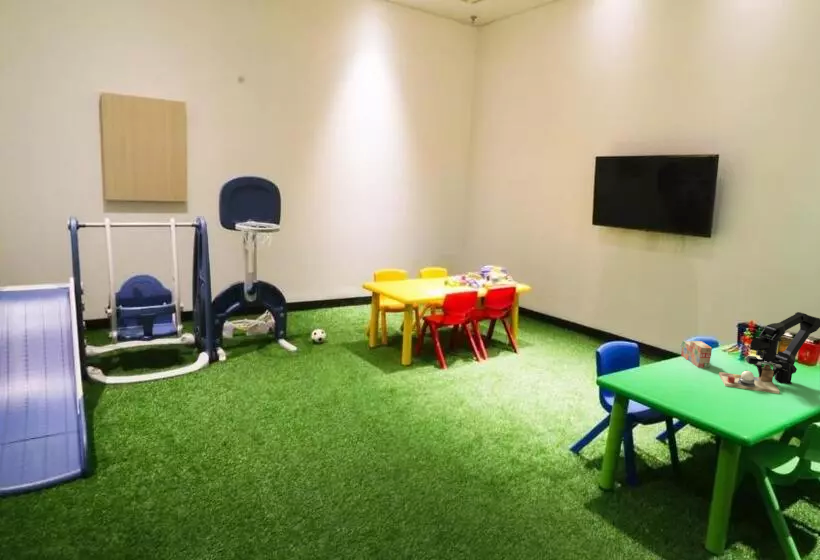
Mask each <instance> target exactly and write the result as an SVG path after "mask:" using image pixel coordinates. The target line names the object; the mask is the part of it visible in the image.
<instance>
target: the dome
mask: <svg viewBox="0 0 820 560" xmlns="http://www.w3.org/2000/svg"><path fill="white" fill-rule="evenodd" d="M740 375H741V377H740V378H739V381H741V382H743V383H747V384H754V382H755V381H754V380H753V379H754V377H755V375H754V374H753V372H752V371H750V370H745V371H742V372H741V374H740Z"/></svg>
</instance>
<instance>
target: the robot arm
mask: <svg viewBox="0 0 820 560" xmlns="http://www.w3.org/2000/svg"><path fill="white" fill-rule="evenodd" d="M798 325H799V330H798V331H797V332H796V334H795V336H794V337H793V338H792V340H791V341H790V343H789V344H788V345H787V347H786V349H785V350H784V351H780V350H779V351H778V346H779V342H782V341H783V340H782V338H781V337H782V336H784V335H785V333H786V331H788V330H790V329H791V328H793V327H795V326H798ZM819 329H820V317H816V316H813V315H808V314H807V313H804V312H801V311H800V312H798V311H797V312H795V313H794V314H793V315H791V316H789V317H787V318H785V319H783V320H781V321H780V322H775V323H770V324H769V323H768V325H766V326H764V328H763V330H762V331H761V333H760V334H759V335H758V336H755V339H753V340H752V341H751V342H750V346H751V348H752V350H753V351H755V356H753V355H747V357H746V362H747V363H748V364H751V365H754V366H755V367H756V369H757V372H758V377H761V372H762V367H763V365H762V364H765V365H772V370H773V371H774V374H773V378H774V380H775V381H776V382H777V383H781V384H789V385H792V377H793V375H794V374H795V373H797V370H798V369H797V367H796V366H795V362H796V355H797V353H798V352H799V350H800V349H801V348H802V347H803V345H804V344H805V342H806V341H807V339H808V338H809V337H810V335H811V334H813V333H815V332H817V331H818V330H819ZM757 356H759V358H757Z"/></svg>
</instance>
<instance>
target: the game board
mask: <svg viewBox="0 0 820 560" xmlns="http://www.w3.org/2000/svg"><path fill="white" fill-rule="evenodd" d="M718 376H719V378H720V380H721V382H722V383H723V385H724V386H725V387H728V388H729V387H730V388H737V389H744V390H750V391H757V392H764V393H769V394H771V393H772V394H778V395H780V392H781V391H780V389H779V388H778V387H777V386H776V384H775V383H774V382H773V381H772V382H765V381H761V380H760V379H759V376H754V379H753V380H754V381H755V382H754V384H747V383H743V382H741V381H739V378H740V377H741V374H736V373H729V372H721V371H719V372H718Z"/></svg>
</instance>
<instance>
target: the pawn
mask: <svg viewBox="0 0 820 560" xmlns="http://www.w3.org/2000/svg"><path fill="white" fill-rule="evenodd" d="M773 374H774V371H773V368H772V366H771V364H764V365H763V366H762V372H761V377H759V376H758V377H759V379H760V380H761V381H765V382H773V379H774V377H773Z"/></svg>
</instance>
